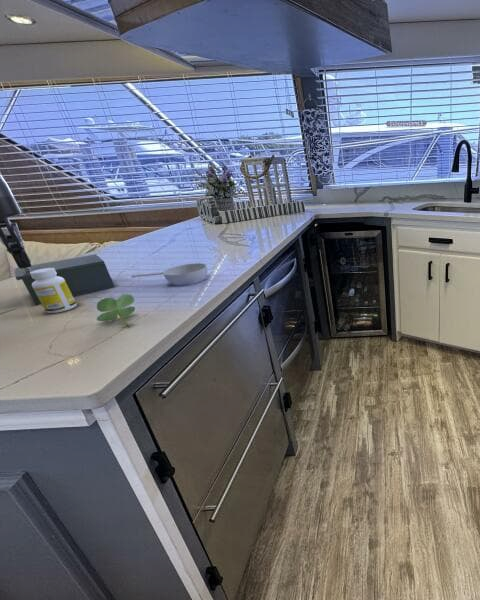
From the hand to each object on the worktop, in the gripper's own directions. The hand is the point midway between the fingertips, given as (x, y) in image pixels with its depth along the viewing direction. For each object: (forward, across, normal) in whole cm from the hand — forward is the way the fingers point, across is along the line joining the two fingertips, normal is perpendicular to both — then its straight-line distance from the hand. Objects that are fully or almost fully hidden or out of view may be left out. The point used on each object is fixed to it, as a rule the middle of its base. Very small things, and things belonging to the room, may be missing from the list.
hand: (25, 265), depth 81 cm
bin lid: (+2, 0, +6) cm, 6 cm away
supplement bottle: (+9, +16, +3) cm, 18 cm away
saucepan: (+9, +17, +26) cm, 32 cm away
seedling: (+9, +37, +10) cm, 40 cm away
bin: (+9, 0, +6) cm, 11 cm away
